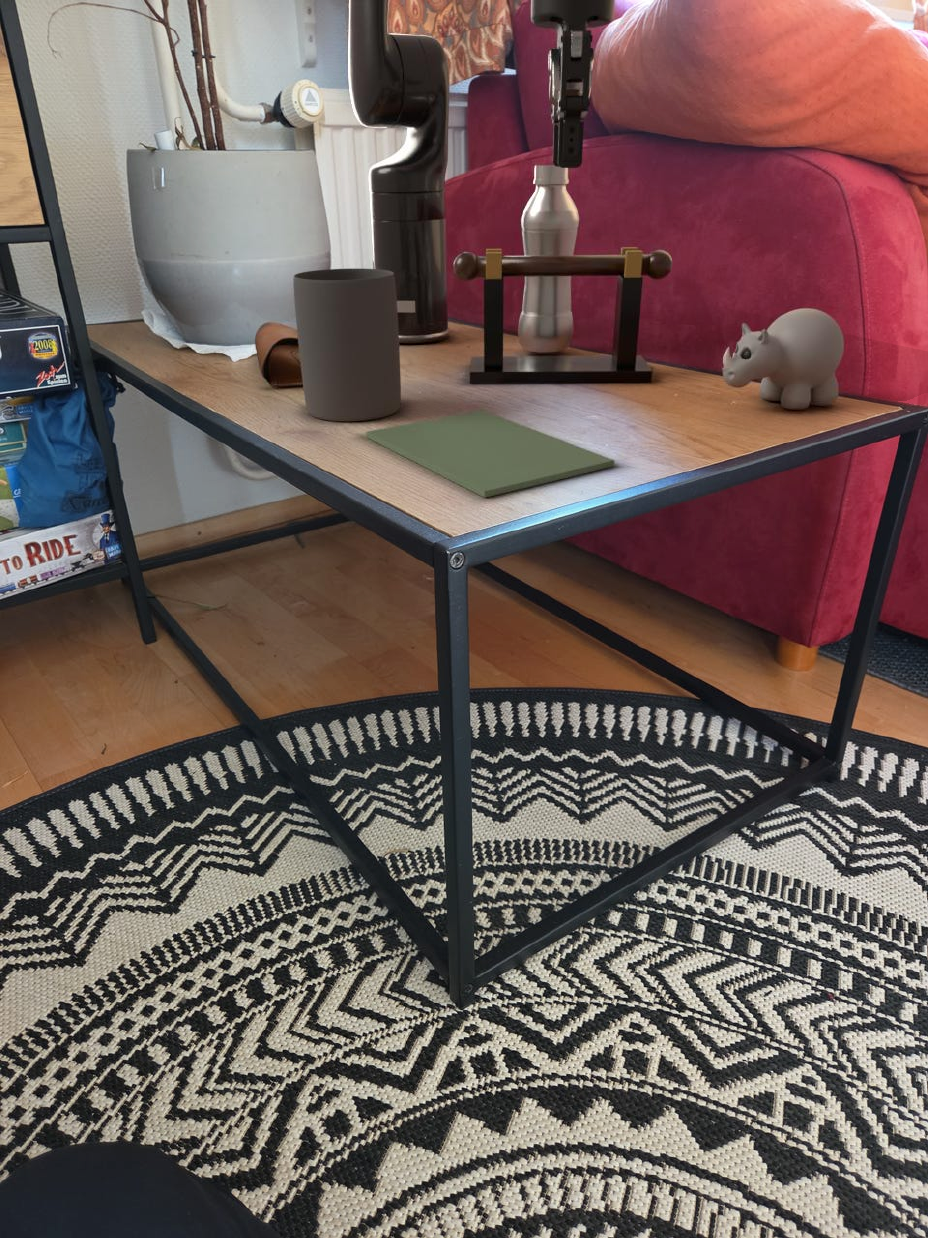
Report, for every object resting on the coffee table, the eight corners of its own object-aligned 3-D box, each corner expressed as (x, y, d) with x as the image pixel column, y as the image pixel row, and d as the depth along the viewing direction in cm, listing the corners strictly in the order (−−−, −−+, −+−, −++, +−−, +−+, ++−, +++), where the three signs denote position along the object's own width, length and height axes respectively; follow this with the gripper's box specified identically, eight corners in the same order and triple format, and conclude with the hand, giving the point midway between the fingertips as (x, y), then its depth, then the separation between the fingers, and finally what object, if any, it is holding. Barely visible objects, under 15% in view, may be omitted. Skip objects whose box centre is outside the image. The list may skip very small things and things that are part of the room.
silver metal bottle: (508, 350, 105) (510, 165, 95) (557, 345, 107) (564, 164, 97) (532, 360, 99) (537, 165, 90) (583, 355, 102) (593, 164, 92)
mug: (410, 417, 78) (404, 277, 72) (310, 426, 76) (295, 282, 70) (385, 384, 90) (378, 261, 84) (297, 391, 88) (284, 265, 82)
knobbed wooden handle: (454, 279, 90) (453, 250, 89) (668, 277, 89) (671, 248, 88) (452, 283, 87) (452, 253, 86) (673, 280, 87) (676, 250, 85)
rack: (471, 366, 97) (470, 247, 91) (640, 366, 96) (650, 245, 90) (469, 383, 90) (468, 254, 84) (651, 382, 89) (663, 252, 83)
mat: (366, 437, 73) (365, 431, 73) (482, 415, 79) (482, 409, 78) (484, 498, 60) (484, 491, 59) (614, 466, 65) (614, 460, 65)
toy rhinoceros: (694, 402, 82) (705, 308, 78) (800, 391, 85) (815, 300, 81) (737, 421, 76) (752, 321, 72) (850, 408, 79) (869, 312, 75)
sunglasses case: (345, 377, 90) (307, 322, 87) (291, 416, 91) (251, 363, 87) (324, 346, 106) (291, 298, 102) (278, 379, 106) (244, 333, 102)
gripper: (529, -25, 82) (525, 166, 90) (534, -57, 69) (530, 168, 77) (607, -27, 82) (597, 165, 89) (627, -60, 69) (613, 167, 77)
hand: (566, 167), depth 83 cm, fingers open, 8 cm apart
